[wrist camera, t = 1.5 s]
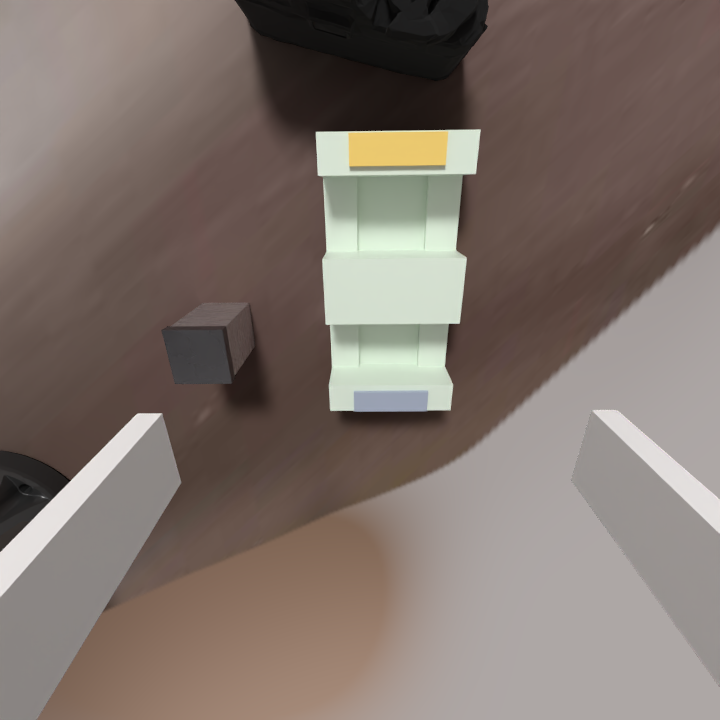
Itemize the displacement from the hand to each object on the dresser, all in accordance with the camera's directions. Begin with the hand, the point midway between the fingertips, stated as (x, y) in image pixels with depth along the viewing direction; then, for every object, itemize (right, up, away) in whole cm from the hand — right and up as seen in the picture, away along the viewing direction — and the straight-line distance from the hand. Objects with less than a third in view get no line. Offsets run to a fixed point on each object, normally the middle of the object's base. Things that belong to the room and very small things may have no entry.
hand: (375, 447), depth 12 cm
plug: (-12, +6, +21) cm, 25 cm away
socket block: (+2, +10, +19) cm, 22 cm away
